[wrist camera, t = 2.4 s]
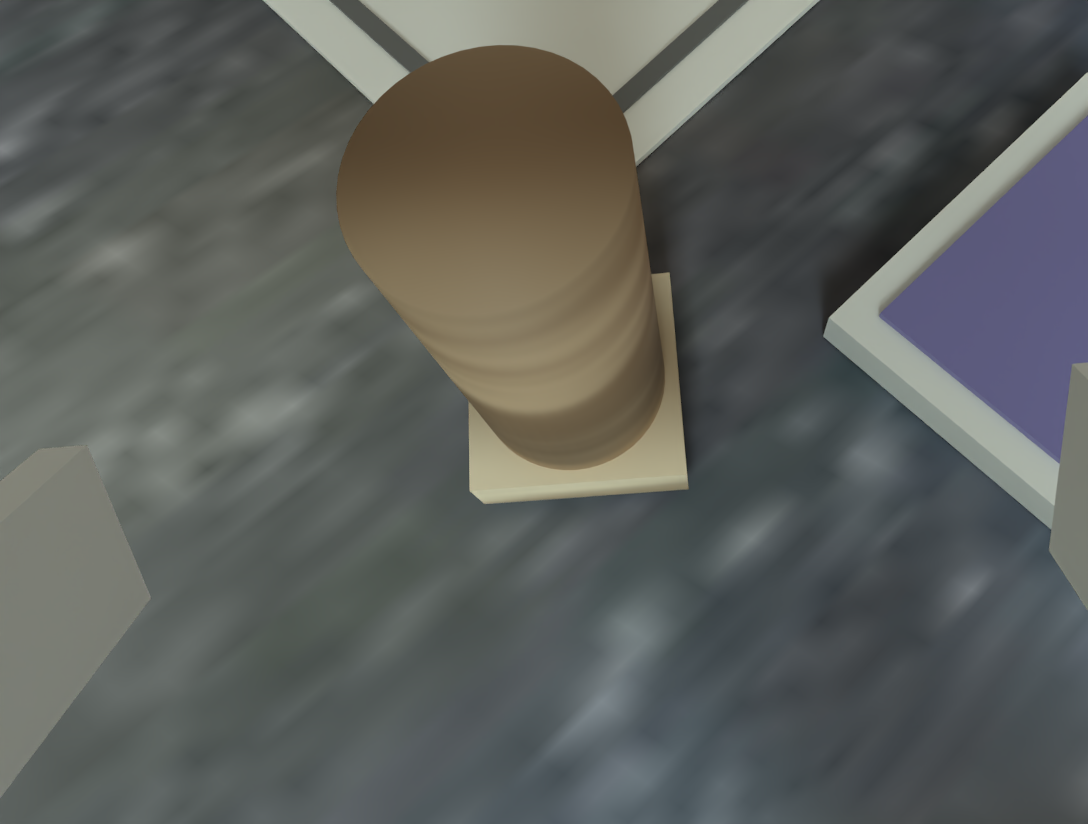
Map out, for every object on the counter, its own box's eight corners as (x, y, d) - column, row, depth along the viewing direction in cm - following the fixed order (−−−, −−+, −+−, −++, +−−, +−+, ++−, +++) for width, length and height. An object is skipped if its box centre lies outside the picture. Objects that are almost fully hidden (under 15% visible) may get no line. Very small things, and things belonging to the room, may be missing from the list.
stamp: (689, 493, 22) (668, 314, 12) (489, 507, 23) (310, 351, 13) (672, 306, 24) (643, 5, 14) (486, 325, 25) (323, 54, 14)
